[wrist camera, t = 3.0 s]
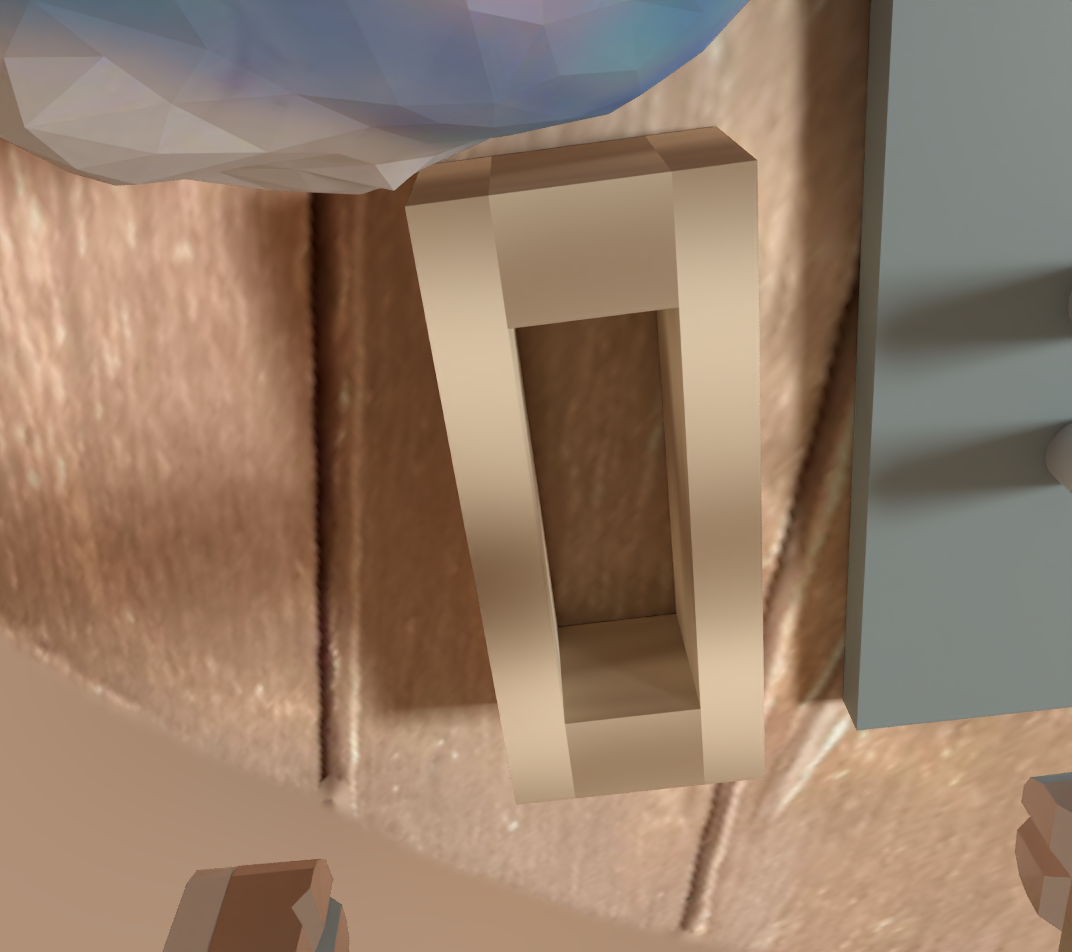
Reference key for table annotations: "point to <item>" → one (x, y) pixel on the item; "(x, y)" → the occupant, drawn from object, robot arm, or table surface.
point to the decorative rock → (320, 81)
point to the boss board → (963, 367)
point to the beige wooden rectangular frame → (690, 440)
